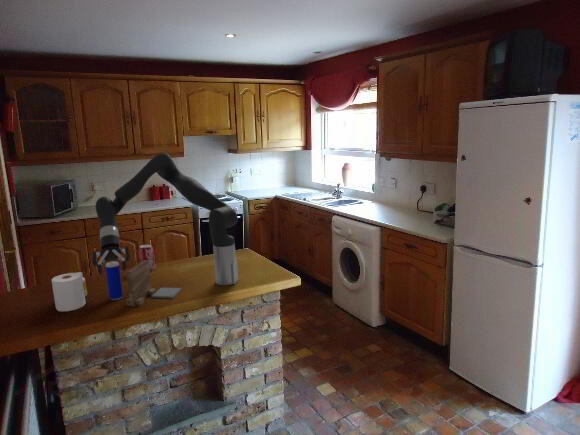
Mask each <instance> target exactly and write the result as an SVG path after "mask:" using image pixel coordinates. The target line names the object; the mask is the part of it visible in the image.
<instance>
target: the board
mask: <svg viewBox="0 0 580 435" xmlns="http://www.w3.org/2000/svg"><path fill="white" fill-rule="evenodd" d="M125 272H126V279H127V280H126V281H127V288H128V295H129V296H128V297H129V298H127V299H126V300H125V304H126V306H130V307H136V306H137V307H141V306H142V305H144V303H145V299H146V298H147V297H149V296H152V295H153V294H154V293H155V292H157V289H156V288H154V287H153V286H152V278H151V271H150V268H149V260H144V261H142V262H141V263H140V262H138V263H137V264H136V265H134V266H133V267H131V268H130V269H128V270H126V271H125Z"/></svg>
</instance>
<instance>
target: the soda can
mask: <svg viewBox="0 0 580 435" xmlns="http://www.w3.org/2000/svg"><path fill="white" fill-rule="evenodd" d="M138 259H139V263H141V262H142V261H144V260H149V268H150V272H151V271H153V270H154V269H155V268H156V258H155V250H154V246H153V245H152V244H150V243H148V244H141V245H139V248H138Z"/></svg>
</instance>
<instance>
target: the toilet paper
mask: <svg viewBox="0 0 580 435" xmlns="http://www.w3.org/2000/svg"><path fill="white" fill-rule="evenodd" d="M82 275H83V274H82ZM82 275H81V274H79V273H77V272H68V273H64V274H60V275H57V276H56V275H55V276H54V277H53V278H52V279H51V285H52V286H51V287H52V293H53V299H54V303H55V309H56V310H57V311H58V312H70V311H75V310H78V309H81V308H83V307H84V306H85V304H86V302H87V301H86V298H85V297H86V296H85V295H84V288H83V281H82V277H83V276H82Z"/></svg>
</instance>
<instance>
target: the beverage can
mask: <svg viewBox="0 0 580 435" xmlns="http://www.w3.org/2000/svg"><path fill="white" fill-rule="evenodd" d="M105 273H106V281H107V287H108V288H107V289H108V295H109V299H110V300H112V301H118V300H121V299H122V298H123V297H124V292H123V284H122V275H121V267H120V263H119V261H116V260H111V261H108V262H105Z"/></svg>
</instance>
